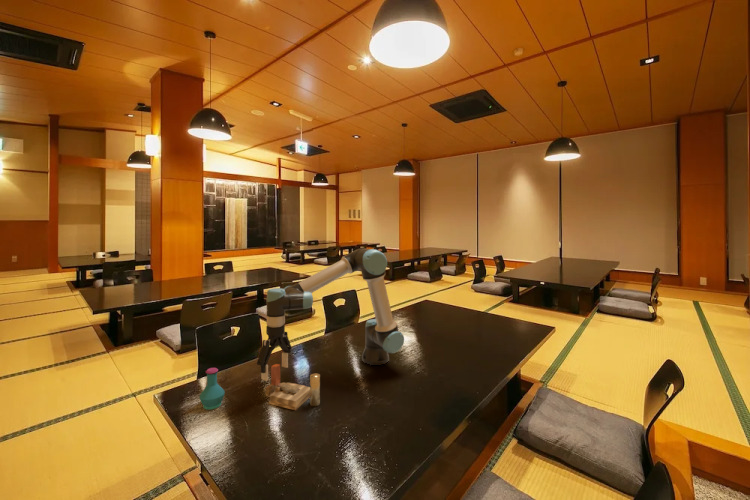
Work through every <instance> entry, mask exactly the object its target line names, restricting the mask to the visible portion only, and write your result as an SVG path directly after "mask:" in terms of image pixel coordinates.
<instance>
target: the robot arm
mask: <svg viewBox="0 0 750 500" xmlns="http://www.w3.org/2000/svg"><path fill="white" fill-rule="evenodd" d="M387 267H388V259H387V257H386V255H385V254H384V253H383V252H382V251H381V250H378V249H375V248H371V249H370V248H365V247H362V248H358V249H355V250H353V251H351V252H349V253H348V254H346V255H344V256H342V257H341V259H340V260H338V261H337V262H335V263H333V264H331V265H329V266H327V267H326V268H324V269H322V270H319V271H318V272H316V273H314V274H312V275H310V276H309V277H307V278H305V279H303V280H301V281H299V282H297V283H295V284H293V285H288V286H285V287H283V288H281V287H280V288H278V287H276V288H275V287H274V288H270V289H268V290H267V293H266V299H265V300H266V326H265V327H266V335H267V337H268V338H267V339H263V340H262V342H261V343H262V346H261V349H260V352H259V355H258V359H257V362H256V365H258V366H260V373H261V375H260V376H261V380H263V381H268V380H269V364H268V362H269V359H270V357H271V355H272V353H273V351H274V350H275V349H276V348H277V347H279V348H280V349H281V350H282V351H283V352H281V367H282V368H285V369H286V368H287V369H288V368H289V353H291V351H292V345H291V342H290V340H289V336H288V332H287V331H285V329H286V326H285V324H286V313H285V312H286V311H293V310H305V309H307V310H308V309H310V308H312V306H313V303H314V297H313V296H314V295H313V294H312V293H314V292H316V291H318V290H321V288H324V287H325V286H328V285H329V284H331V283H332V282H334V281H337V280H338V279H340V278H341V277H343V276H345V275H347V274H350V275H351V274H353V273H355V272H359V271H360V272H361V277H362V279H363V280H364V281H366V284H367V288H368V293H369V296H370V300H371V306H372V308H373V313H374V318H372V319H371V318H370V319H368V320H366V322H365V325H364V326H365V332H364V334H365V336H364V337H365V343H364V344H365V346H364V350H363V352H362V356H361V362H362V361H363V362H365V363H367V364H370V365H369V366H371V365H380V364H384V363H386V362H388V361H389V362H390V355H389V354H395V353H398V352H399V351H400V350H401V348H402V347H403V346H404V343H405V337H404V334H403V333H402V332H401V331H400V330H399V327H398V322H397V321H395V320H394V318H393V314H392V309H391V305H390V301H389V295H388V292H387V286H386V282H385V276H386V274H387V272H386V270H387ZM363 362H362V363H363ZM389 362H388V363H389ZM365 363H364V364H365ZM367 364H366V365H367Z"/></svg>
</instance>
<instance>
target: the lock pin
mask: <svg viewBox="0 0 750 500" xmlns="http://www.w3.org/2000/svg"><path fill="white" fill-rule="evenodd" d="M270 367H271V368H270V370H271V371H270V372H271V373H270V374H271V375H270V376H271V377H270V379H271V381H270V384H271V385H274V388H275V387H280V390H284V391H288V392H292V393H297V392H298V391H299V387H297V386H292V385H288V384H283V383H284V382H281V364H280V363H275V364H273V365H271V366H270Z"/></svg>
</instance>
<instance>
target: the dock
mask: <svg viewBox="0 0 750 500" xmlns="http://www.w3.org/2000/svg"><path fill="white" fill-rule="evenodd" d="M282 383H283V384H288V385H292V386H297V387H299V391H298V392H297V393H292V392H288V391H284V390H280V387H275V388H274V385H271V383H270V384H268V385H267V386H266V387H265V396H266V397H268V398H269V401H268V404H269V405H273V406H277V407H280V408H284V409H287V410H288V409H289V410H292V411H297V410H298V409H299V408H300V407H302V405H303V404H305V402H307V401H308V400H310V386H306V385H303V384H298V383H292V382H282Z"/></svg>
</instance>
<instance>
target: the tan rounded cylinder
mask: <svg viewBox="0 0 750 500" xmlns="http://www.w3.org/2000/svg"><path fill="white" fill-rule="evenodd" d="M309 379H310V381H309V385H310V386H309V387H310V398H309V404H310V406H312V407H317V406H319V405H320V404H321V374H320V373H316V372H315V373H311V374H310V377H309Z"/></svg>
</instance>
